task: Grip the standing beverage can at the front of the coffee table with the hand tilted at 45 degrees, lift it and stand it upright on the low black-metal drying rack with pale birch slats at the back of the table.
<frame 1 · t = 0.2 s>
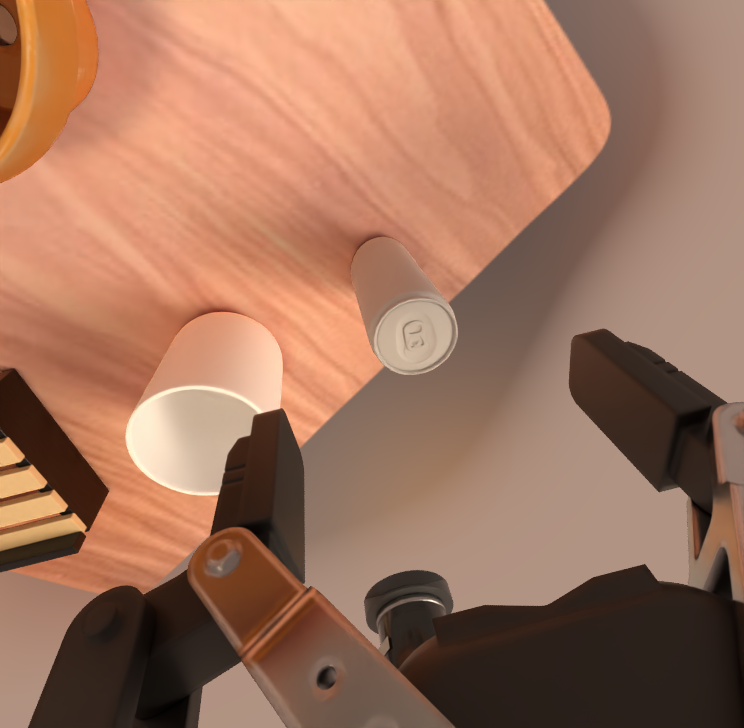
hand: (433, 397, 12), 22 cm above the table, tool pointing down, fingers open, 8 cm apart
beverage can: (380, 265, 33), on the table
flower pot: (12, 23, 23), on the table
mug: (216, 368, 35), on the table
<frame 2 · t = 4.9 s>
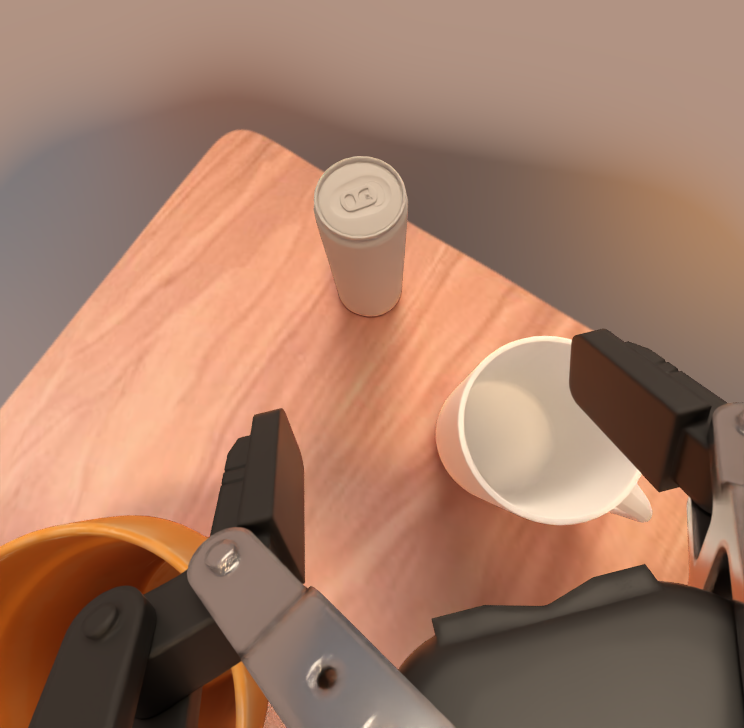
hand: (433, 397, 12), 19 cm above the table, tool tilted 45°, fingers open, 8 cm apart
beverage can: (370, 290, 33), on the table
flower pot: (205, 605, 29), on the table
mug: (514, 452, 30), on the table
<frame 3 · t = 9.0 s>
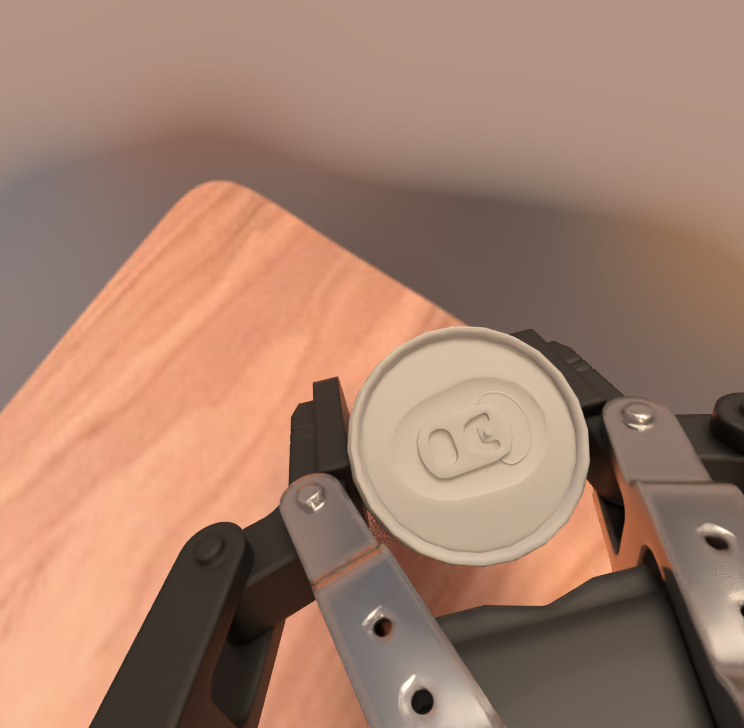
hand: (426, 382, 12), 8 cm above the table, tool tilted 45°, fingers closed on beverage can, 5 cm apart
beverage can: (422, 453, 20), on the table, touching gripper
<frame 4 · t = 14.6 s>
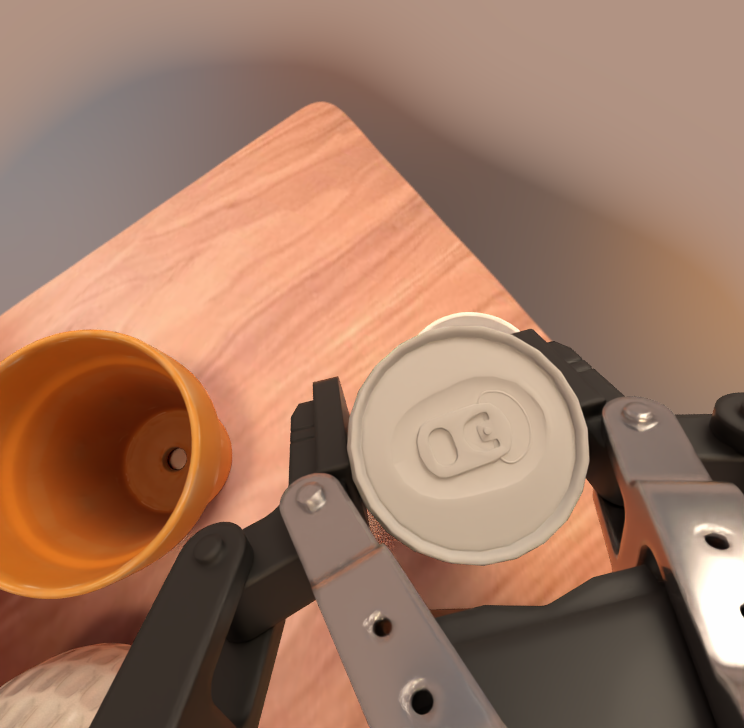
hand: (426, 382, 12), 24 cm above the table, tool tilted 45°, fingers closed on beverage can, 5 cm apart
beverage can: (421, 452, 20), point 15 cm above the table, touching gripper
flower pot: (181, 457, 36), on the table
vase: (138, 707, 32), on the table
mug: (458, 421, 36), on the table
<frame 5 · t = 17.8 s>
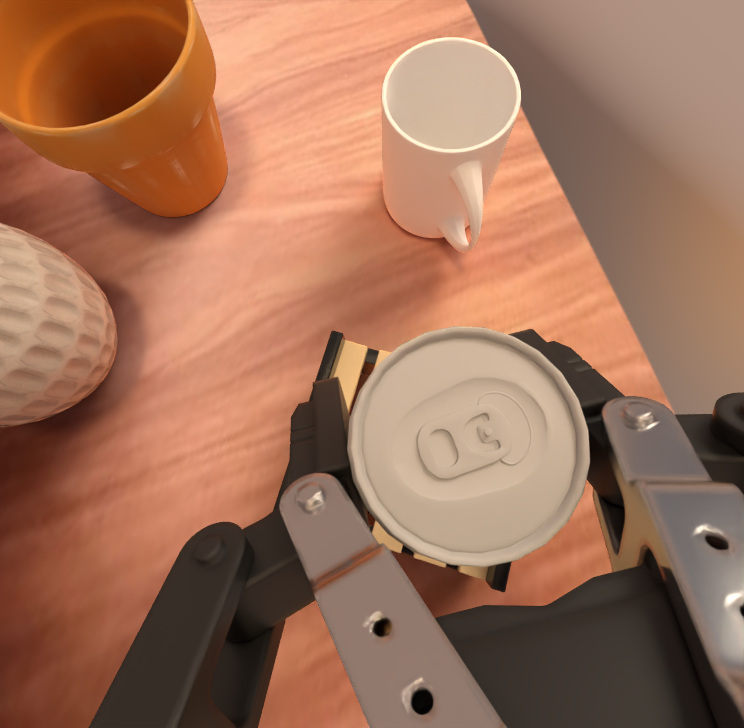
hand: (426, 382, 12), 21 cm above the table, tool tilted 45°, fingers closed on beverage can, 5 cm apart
rack: (407, 453, 32), on the table
beverage can: (421, 453, 20), point 12 cm above the table, touching gripper
flower pot: (181, 174, 38), on the table
vase: (76, 355, 35), on the table
mug: (438, 215, 37), on the table
when the fingers open (13 cm above the table, at t = 20.3 s): beverage can stays where it is, resting on rack.
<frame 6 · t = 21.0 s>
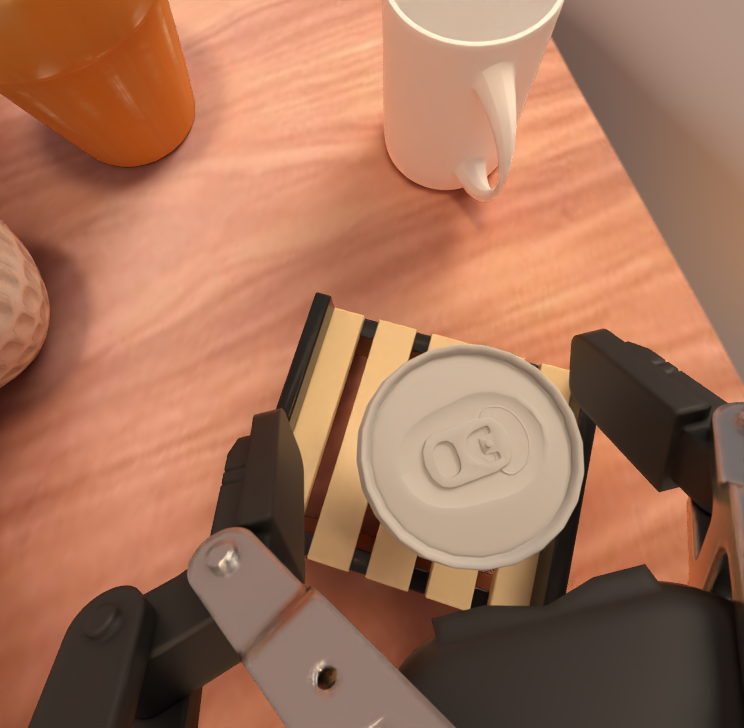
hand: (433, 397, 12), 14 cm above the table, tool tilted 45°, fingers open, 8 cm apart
rack: (414, 456, 25), on the table
beverage can: (423, 458, 21), point 5 cm above the table, touching rack
flower pot: (139, 118, 32), on the table
vase: (4, 333, 28), on the table
mug: (451, 163, 30), on the table
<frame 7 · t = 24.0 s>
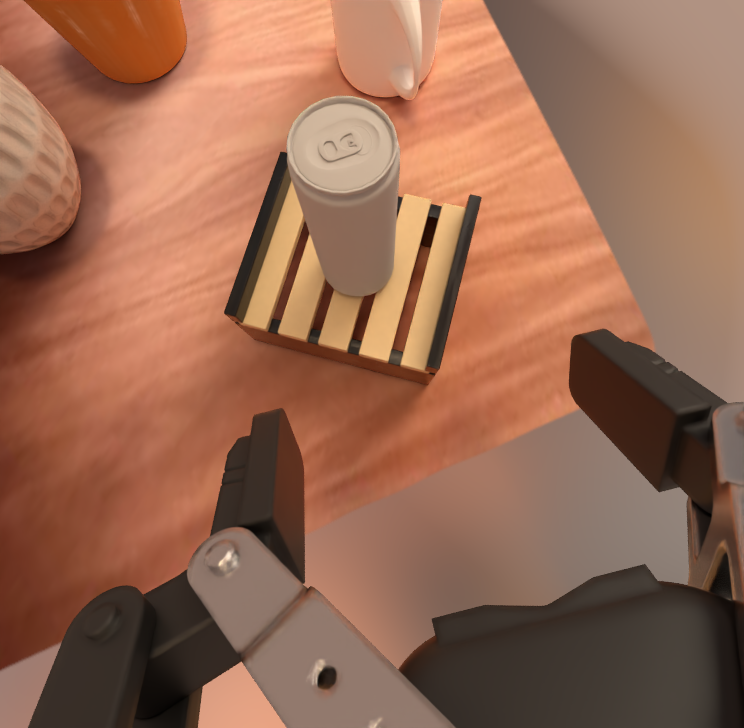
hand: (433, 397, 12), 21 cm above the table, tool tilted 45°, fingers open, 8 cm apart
rack: (360, 290, 34), on the table
beverage can: (358, 268, 29), point 5 cm above the table, touching rack
flower pot: (141, 45, 39), on the table
vase: (43, 212, 36), on the table
mug: (391, 77, 38), on the table
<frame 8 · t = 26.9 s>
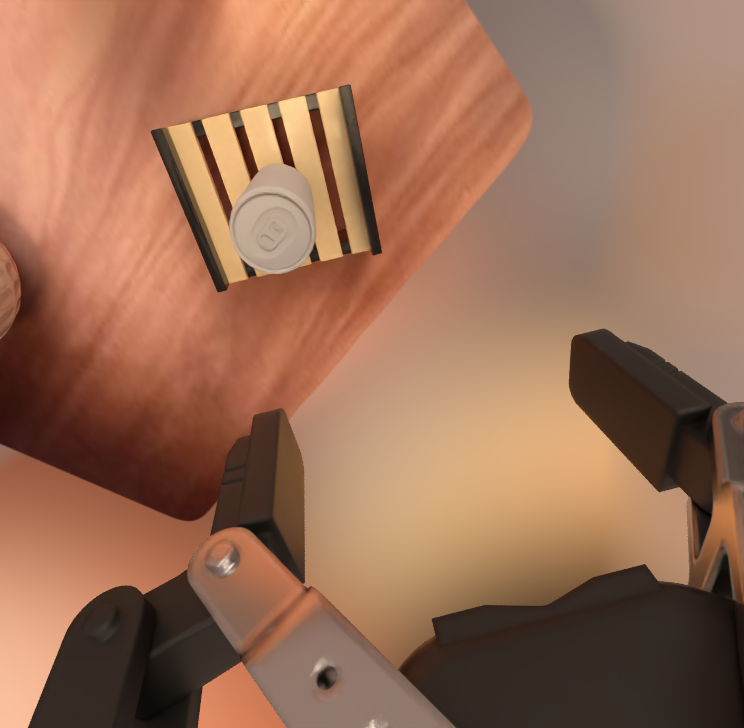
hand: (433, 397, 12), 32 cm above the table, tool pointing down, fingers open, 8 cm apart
rack: (281, 185, 38), on the table
beverage can: (281, 195, 34), point 5 cm above the table, touching rack
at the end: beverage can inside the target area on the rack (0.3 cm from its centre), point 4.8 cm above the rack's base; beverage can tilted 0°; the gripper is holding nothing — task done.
